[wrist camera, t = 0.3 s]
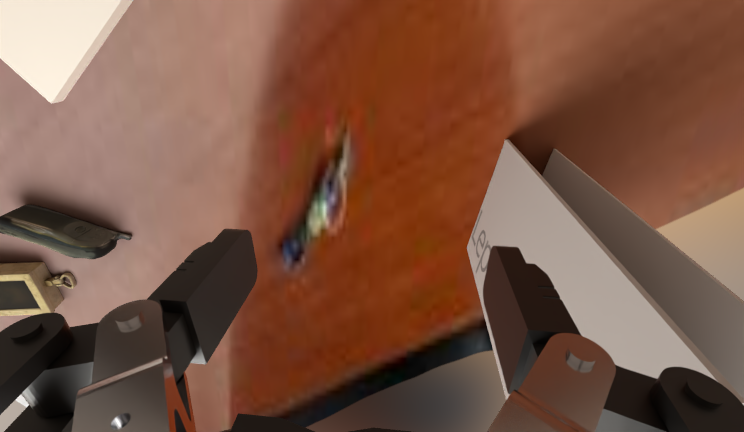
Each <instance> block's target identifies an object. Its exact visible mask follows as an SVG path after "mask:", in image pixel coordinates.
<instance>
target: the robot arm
mask: <svg viewBox="0 0 744 432" xmlns="http://www.w3.org/2000/svg"><path fill="white" fill-rule="evenodd" d="M184 261H185V262H184V263H182V264H181V265H180V266H179V267H178V268H177V270H176V271H174V272H173V273H172V274H171V275H170V276H169V277H168V278H167V279H166V280H165V281H164V282H163V283H162V284H161V285H160V286H159V287H158V288H157V289H156V290H155V291H154V292H153V293H152V294H151V296H150V297H149V298H148V299H147V300H137V301H132V302H129V303H126V304H124V305H121V306H119V307H117V308H115V309H114V310H112V311H111V312H109V313H108V314H107V315H105V316H104V317H103V318H102V320H101V321H100V322H99V323H94V324H88V325H81V326H75V327H69V326H68V324H67V322H66V320H65V318H64V317H63V316H62V315H61V314H58V313H42V314H37V315H34V316H30V317H28V318H25V319H22V320H20V321H18V322H16V323H14V324H12V325H10V326H9V327H7V328H5V329H4V330H3V331H1V332H0V414H1V413H2V412H3V411H4V410H5V409H6V408H7V407H8V406H9V405H10V404H11V403H12V402H13V401H14V400H15V399H16V398H17V397H18V396H19V395H20V394H22V395H23V397H24V398H25V400H26V401H27V402H28V404H29V406H28V407H27V408H26V409H25V410H24V411H23V412H22V413H21V415H20V416H19V417H17V419H16V420H15V421H14V422H13V423H12V424H11V425H10V426H9V427H8V428H7V429H6V430H5V431H4V432H196V429H195V423H194V417H193V411H192V405H191V399H190V393H189V388H188V382H187V377H186V374H185V370H186V368H187V367H188V365H189V364H190V363H198V364H207V362H208V361H209V359H210V357H211V356H212V354H213V352H214V351H215V349H216V347H217V346H218V344H219V342H220V341H221V339H222V338H223V336H224V334H225V333H226V331H227V329H228V328H229V326H230V324H231V323H232V321H233V319H234V318H235V316H236V314H237V313H238V311H239V309H240V308H241V306H242V305H243V303H244V301H245V300H246V298H247V296H248V295H249V293H250V291H251V290H252V288H253V286H254V284H255V282H256V278H257V264H256V258H255V253H254V247H253V242H252V236H251V233H250V232H249V231H248V230H239V229H224V230H223V231H222V232H221V233H220V234H219V235H218V236H217V237H216V238H215V239H214V241H213V242H208V243H206V244H204V245H203V246H201V247H199V248H198V249H196V250H194V251H193V252H192V253H191V254H190V255H189V256H188V257H187V258H186V259H185V260H184ZM483 300H484V305H485V309H486V313H487V316H488V320H489V324H490V328H491V331H492V335H493V339H494V343H495V346H496V350H497V354H498V358H499V361H500V365H501V369H502V373H503V376H504V380H505V384H506V388H507V392H508V394H510V396H509V397H508V399H507V400H506V402H505V404H504V405H503V407H502V408H501V410H500V411H499V413H498V415H497V416H496V418H495V419H494V421H493V423H492V424H491V426H490V427H489V429H488V431H487V432H744V405H743V404H742V403H741V402H740V400H739V399H738V398H737V397H736V396H735V395H734V394H733V393H732V392H731V391H730V390H728V389H727V388H726V387H724V386H723V385H722V384H720V383H719V382H717V381H716V380H714V379H712V378H711V377H709V376H707V375H705V374H702V373H700V372H698V371H695V370H692V369H688V368H684V367H669V368H666V369H664V370H663V371H662V372H661V374H660V375H659V377H658V379H656V378H653V377H650V376H647V375H644V374H641V373H638V372H634V371H631V370H628V369H625V368H622V367H620V366H617V365H615V364H614V361H613V360H612V358H611V356H610V355H609V354H608V353H607V352H606V351H605V350H604V349H603V348H602V347H601V346H600V345H598V344H597V343H595V342H593V341H592V340H590V339H588V338H585V337H583V336H582V335H581V334H580V332H579V330H578V328H577V326H576V325H575V323H574V321H573V319H572V317H571V316H570V314H569V312H568V310H567V308H566V307H565V305H564V303H563V301H562V300H560V296H559V294H558V292H557V290H556V289H554V285H553V283H552V281H551V280H550V278H549V276H548V274H546V273H545V272H544V271H543V270H542V269H541V268H539V267H538V266H537V265H536V264H530V263H526V261H525V259H524V257H523V255H522V253H521V251H520V249H519V248H518V247H508V246H493V247H492V248H491V251H490V256H489V260H488V265H487V270H486V275H485V280H484V285H483ZM221 432H314V431H312V430H309V429H307V428H304V427H302V426H299V425H297V424H294V423H292V422H290V421H287V420H285V419H282V418H276V417H266V416H256V415H247V414H238V415H237V417H236V420H235V422H234V424H233V426H232V429H229V430H225V431H221ZM350 432H409V431H400V430H390V429H381V428H370V429H363V430H357V431H350Z"/></svg>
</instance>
